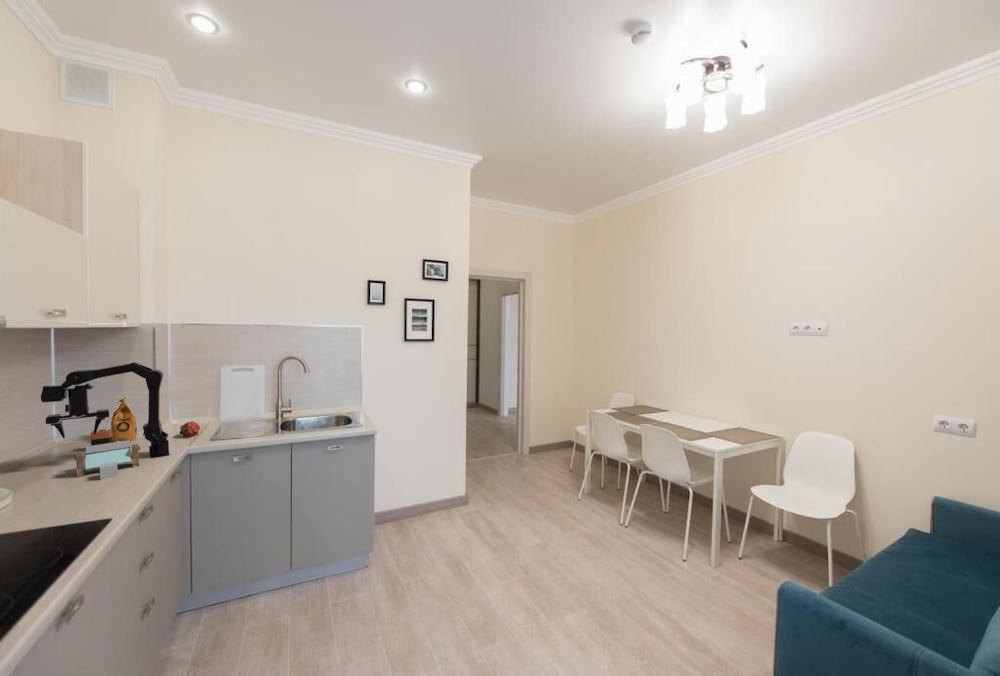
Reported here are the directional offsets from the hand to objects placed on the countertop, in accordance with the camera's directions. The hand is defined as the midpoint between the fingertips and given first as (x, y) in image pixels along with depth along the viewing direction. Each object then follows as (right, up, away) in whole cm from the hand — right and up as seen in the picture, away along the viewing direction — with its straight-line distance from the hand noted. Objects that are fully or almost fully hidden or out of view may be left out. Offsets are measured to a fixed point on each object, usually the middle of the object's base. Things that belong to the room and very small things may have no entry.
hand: (79, 436), depth 175 cm
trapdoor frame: (+16, -13, -3) cm, 21 cm away
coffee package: (-16, -11, +38) cm, 43 cm away
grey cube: (+22, -9, -10) cm, 26 cm away
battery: (-12, -12, +22) cm, 28 cm away
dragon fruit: (+13, -11, +45) cm, 49 cm away
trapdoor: (+14, -9, -1) cm, 17 cm away
